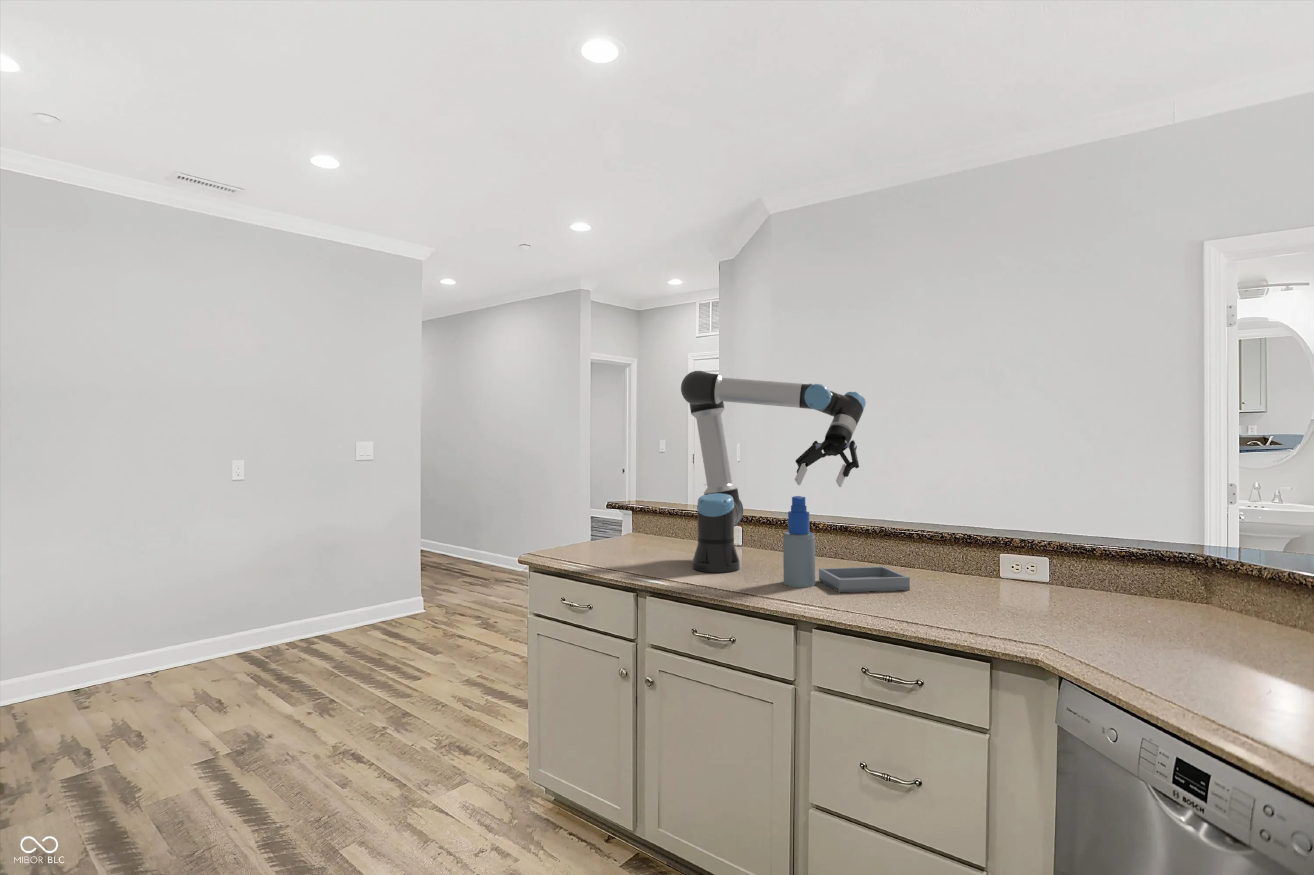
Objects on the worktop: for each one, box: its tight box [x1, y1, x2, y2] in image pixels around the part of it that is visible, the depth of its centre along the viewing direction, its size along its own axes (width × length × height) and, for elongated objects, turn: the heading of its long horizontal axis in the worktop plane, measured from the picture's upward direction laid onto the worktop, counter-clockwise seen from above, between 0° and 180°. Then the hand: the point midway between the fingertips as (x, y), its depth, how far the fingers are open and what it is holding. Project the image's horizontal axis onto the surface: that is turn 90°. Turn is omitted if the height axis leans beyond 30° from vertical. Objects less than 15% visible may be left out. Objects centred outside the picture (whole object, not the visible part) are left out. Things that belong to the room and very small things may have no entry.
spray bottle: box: [782, 495, 816, 588], centre depth 185 cm, size 9×9×25 cm
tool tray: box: [818, 566, 911, 593], centre depth 183 cm, size 15×20×4 cm
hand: (817, 483), depth 192 cm, fingers open, 13 cm apart
